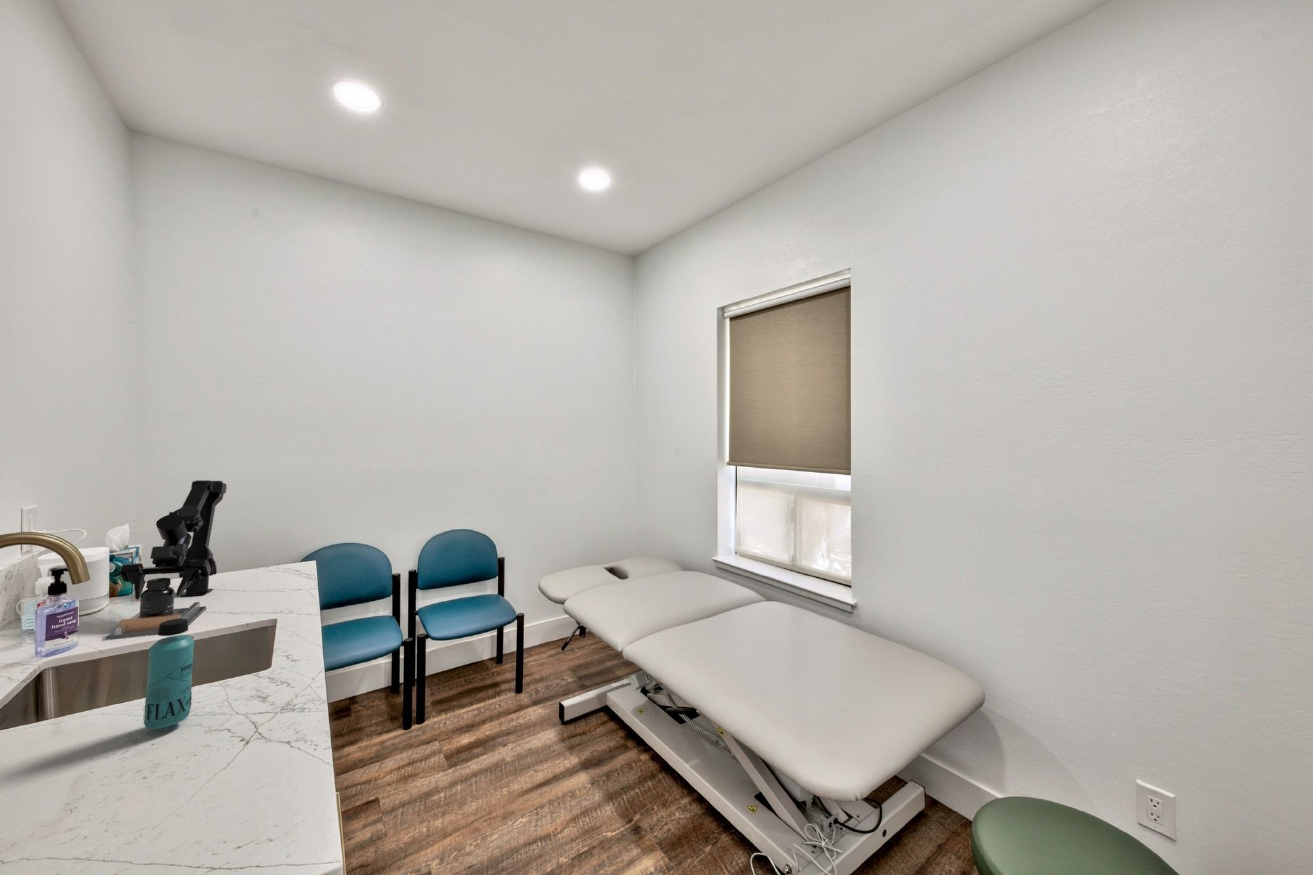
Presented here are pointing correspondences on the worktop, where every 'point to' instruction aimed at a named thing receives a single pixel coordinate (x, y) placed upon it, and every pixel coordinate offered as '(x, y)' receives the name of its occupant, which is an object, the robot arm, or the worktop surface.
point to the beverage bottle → (169, 676)
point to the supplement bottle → (157, 598)
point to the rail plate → (153, 622)
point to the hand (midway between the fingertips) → (157, 597)
